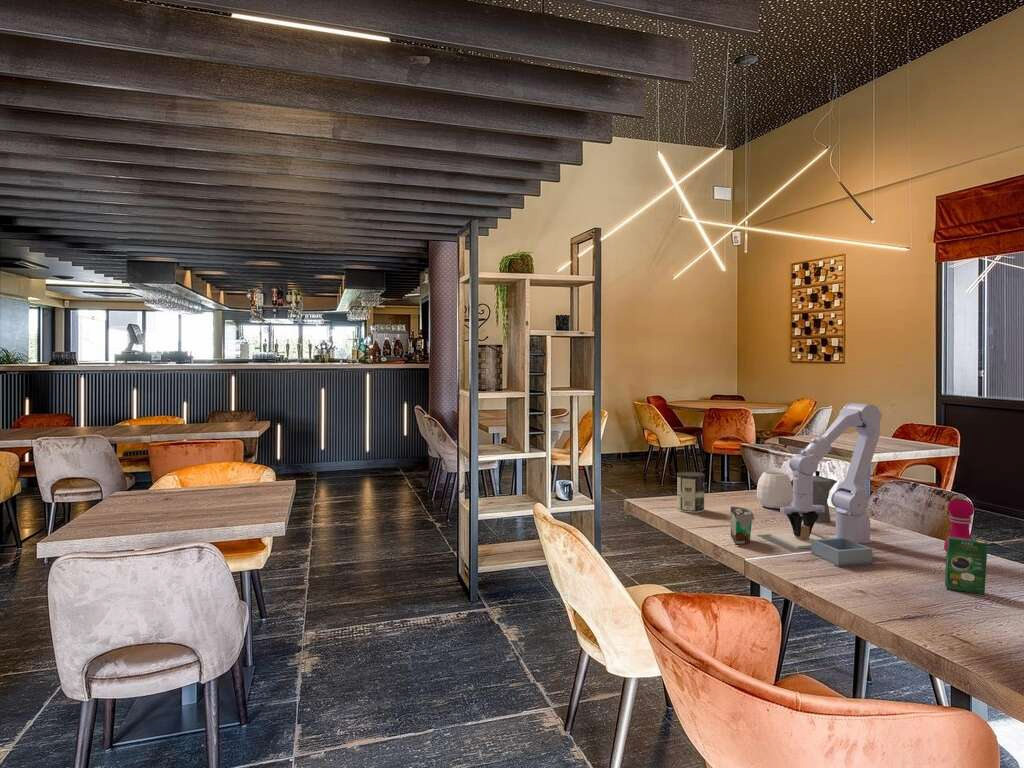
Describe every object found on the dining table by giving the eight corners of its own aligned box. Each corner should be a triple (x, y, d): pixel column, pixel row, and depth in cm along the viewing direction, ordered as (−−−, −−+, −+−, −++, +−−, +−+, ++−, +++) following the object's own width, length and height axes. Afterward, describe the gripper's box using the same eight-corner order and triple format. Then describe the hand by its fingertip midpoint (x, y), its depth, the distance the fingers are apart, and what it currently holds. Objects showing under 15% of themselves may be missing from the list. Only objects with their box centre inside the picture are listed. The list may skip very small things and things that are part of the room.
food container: (757, 548, 187) (757, 516, 186) (736, 547, 188) (736, 515, 188) (749, 537, 199) (750, 506, 199) (730, 536, 200) (730, 506, 200)
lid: (806, 534, 201) (806, 519, 201) (834, 546, 188) (834, 530, 188) (770, 536, 198) (771, 522, 198) (797, 548, 185) (797, 533, 185)
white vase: (775, 512, 232) (776, 477, 231) (749, 504, 244) (749, 471, 243) (800, 509, 237) (801, 474, 237) (773, 501, 249) (774, 469, 249)
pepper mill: (966, 569, 168) (968, 497, 167) (938, 562, 174) (940, 492, 174) (980, 565, 171) (982, 495, 170) (952, 558, 178) (954, 490, 177)
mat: (810, 532, 204) (810, 531, 204) (850, 549, 186) (850, 547, 186) (756, 536, 200) (756, 535, 200) (792, 553, 182) (792, 551, 182)
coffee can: (699, 506, 240) (700, 471, 240) (707, 513, 230) (708, 476, 230) (673, 506, 241) (673, 471, 240) (680, 513, 230) (680, 476, 230)
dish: (843, 552, 183) (843, 537, 183) (872, 564, 172) (872, 548, 172) (811, 554, 181) (811, 539, 181) (838, 567, 170) (838, 551, 170)
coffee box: (983, 591, 152) (985, 539, 152) (986, 595, 150) (988, 542, 149) (944, 586, 156) (945, 535, 155) (946, 589, 153) (947, 538, 153)
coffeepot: (832, 518, 223) (833, 469, 223) (840, 524, 214) (842, 473, 213) (787, 516, 226) (788, 467, 225) (793, 522, 217) (794, 472, 216)
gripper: (814, 489, 198) (813, 530, 198) (774, 491, 195) (773, 533, 196) (829, 494, 191) (828, 536, 192) (788, 496, 188) (787, 539, 189)
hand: (802, 535), depth 193 cm, fingers closed on lid, 3 cm apart
